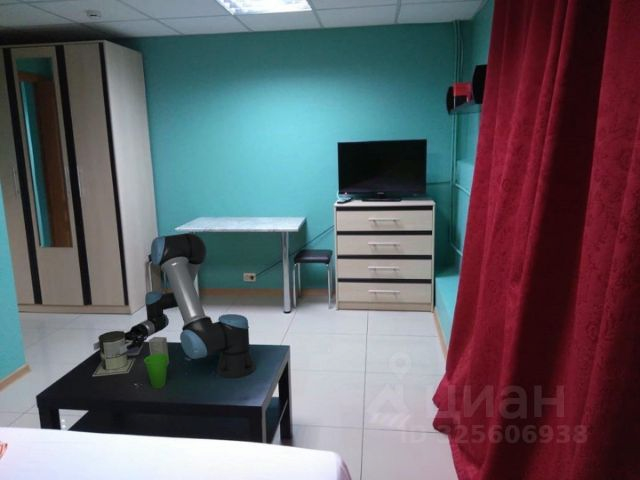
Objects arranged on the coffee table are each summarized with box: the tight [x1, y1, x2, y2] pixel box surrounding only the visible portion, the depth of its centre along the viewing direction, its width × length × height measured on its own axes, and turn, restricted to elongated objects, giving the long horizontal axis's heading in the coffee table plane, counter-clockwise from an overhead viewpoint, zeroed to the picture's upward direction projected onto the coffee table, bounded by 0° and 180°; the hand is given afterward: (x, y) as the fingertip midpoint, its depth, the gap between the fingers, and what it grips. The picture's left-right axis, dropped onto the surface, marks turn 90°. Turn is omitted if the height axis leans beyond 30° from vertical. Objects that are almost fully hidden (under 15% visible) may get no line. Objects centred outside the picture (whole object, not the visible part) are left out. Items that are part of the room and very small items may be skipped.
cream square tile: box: [92, 357, 136, 377], centre depth 196 cm, size 14×14×1 cm
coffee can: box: [98, 330, 128, 372], centre depth 195 cm, size 10×10×14 cm
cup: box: [143, 354, 170, 389], centre depth 179 cm, size 9×9×11 cm
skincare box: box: [148, 336, 170, 366], centre depth 196 cm, size 6×4×12 cm
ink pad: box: [127, 343, 144, 357], centre depth 213 cm, size 11×11×1 cm
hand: (106, 349), depth 192 cm, fingers open, 13 cm apart
